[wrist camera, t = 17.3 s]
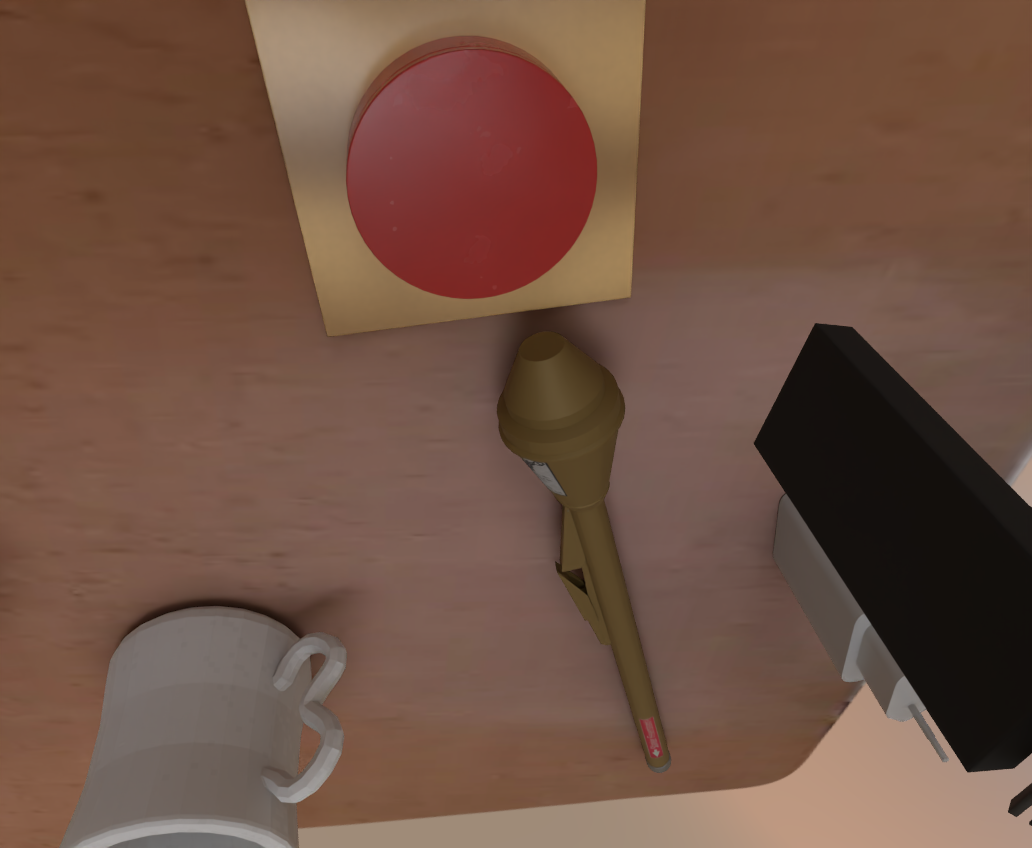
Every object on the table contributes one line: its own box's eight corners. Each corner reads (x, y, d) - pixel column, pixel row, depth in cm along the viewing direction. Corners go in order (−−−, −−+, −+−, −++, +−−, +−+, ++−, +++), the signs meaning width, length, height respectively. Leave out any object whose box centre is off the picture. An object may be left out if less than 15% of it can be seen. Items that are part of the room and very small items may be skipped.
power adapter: (842, 478, 36) (1011, 703, 27) (828, 552, 39) (973, 774, 30) (780, 492, 36) (928, 722, 27) (771, 564, 39) (899, 791, 30)
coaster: (240, -26, 20) (238, -24, 19) (644, -60, 21) (649, -58, 20) (327, 331, 27) (327, 337, 26) (628, 292, 28) (631, 297, 27)
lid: (623, 195, 25) (639, 217, 23) (441, 313, 26) (445, 340, 25) (504, -24, 20) (515, -13, 19) (293, 135, 22) (289, 155, 21)
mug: (213, 730, 40) (179, 945, 32) (68, 656, 35) (-15, 892, 27) (403, 632, 38) (415, 838, 30) (278, 535, 32) (254, 756, 24)
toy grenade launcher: (685, 718, 50) (616, 731, 51) (598, 290, 27) (471, 323, 27) (704, 790, 47) (630, 804, 47) (623, 372, 23) (478, 408, 24)
